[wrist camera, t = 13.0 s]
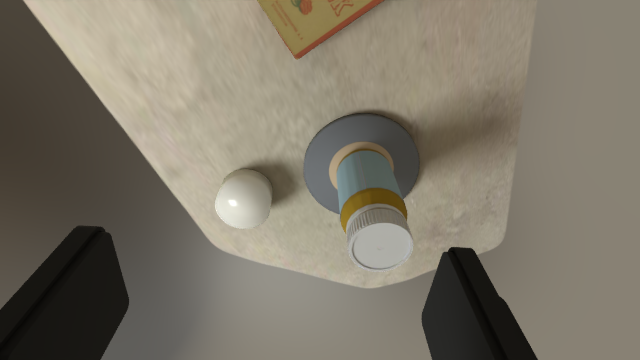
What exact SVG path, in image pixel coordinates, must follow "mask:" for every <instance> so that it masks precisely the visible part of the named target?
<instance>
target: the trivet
mask: <svg viewBox="0 0 640 360" xmlns="http://www.w3.org/2000/svg"><path fill="white" fill-rule="evenodd" d="M358 149H373V150H376V151H378V152H380V153H382V154H383V155H384V156H385V157H386V158H387V160H388V161H389V163H390V166H391V168H392V171H393V174H394V176H395V179H396V182H397V184H398V187H399V190H400V192H401V195H402V198H403V199H404V198H405V197H406V196H407V194H408V193H409V192H410V190H411V189H412V187H413V186H414V183H415V181H416V179H417V176H418V171H419V155H418V152H417V148H416V146H415V144H414V142H413V140H412V138H411V137H410V135H409V134H408V132H407V131H406V130H405V129H404V128H403V127H402V126H400V125H399V124H398V123H396V122H395V121H393V120H391V119H389V118H387V117H384V116H381V115H377V114H370V113H359V114H352V115H347V116H344V117H341V118H339V119H336V120H334V121H332V122H331V123H329V124H328V125H326V126H325V127H323V128H322V129H321V130H320V131H319V132H318V133H317V134H316V135H315V137H314V138H313V139H312V141H311V143H310V144H309V146H308V149H307V151H306V154H305V159H304V178H305V182H306V185H307V187H308V189H309V192H310V193H311V194H312V196H313V197H314V198H315V199H316V201H317V202H318V203H320V204H321V205H322V206H323V207H325V208H327V209H328V210H330V211H332V212H334V213H337V214H340V209H339V199H338V188H337V175H336V174H337V168H338V165H339V163H340V161H341V160H342V159H343V157H344V156H346V155H347V154H349V153H350V152H352V151H355V150H358Z"/></svg>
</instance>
